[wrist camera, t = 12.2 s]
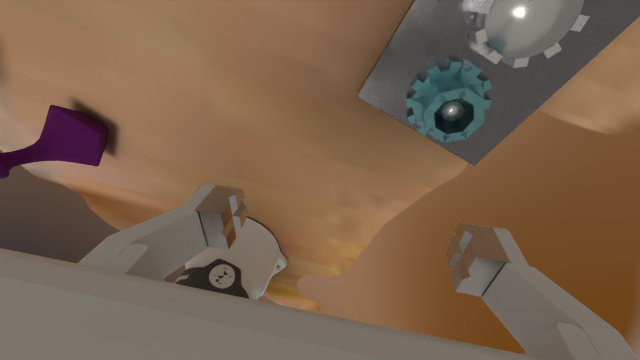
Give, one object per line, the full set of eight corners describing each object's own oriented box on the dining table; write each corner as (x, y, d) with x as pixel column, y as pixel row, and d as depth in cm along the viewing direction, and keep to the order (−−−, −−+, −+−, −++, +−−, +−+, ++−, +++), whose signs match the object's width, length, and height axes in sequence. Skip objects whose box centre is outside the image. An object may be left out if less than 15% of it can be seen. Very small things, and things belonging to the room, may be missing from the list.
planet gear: (447, 145, 30) (456, 168, 26) (390, 110, 30) (390, 129, 26) (506, 85, 26) (527, 102, 22) (440, 42, 25) (450, 51, 21)
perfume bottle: (72, 132, 45) (-77, 197, 31) (71, 97, 41) (-103, 153, 26) (114, 157, 46) (-10, 230, 32) (118, 125, 42) (-24, 193, 28)
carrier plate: (469, 157, 33) (483, 185, 28) (358, 91, 31) (353, 108, 26) (666, -28, 21) (749, -34, 16) (503, -151, 19) (541, -199, 14)
